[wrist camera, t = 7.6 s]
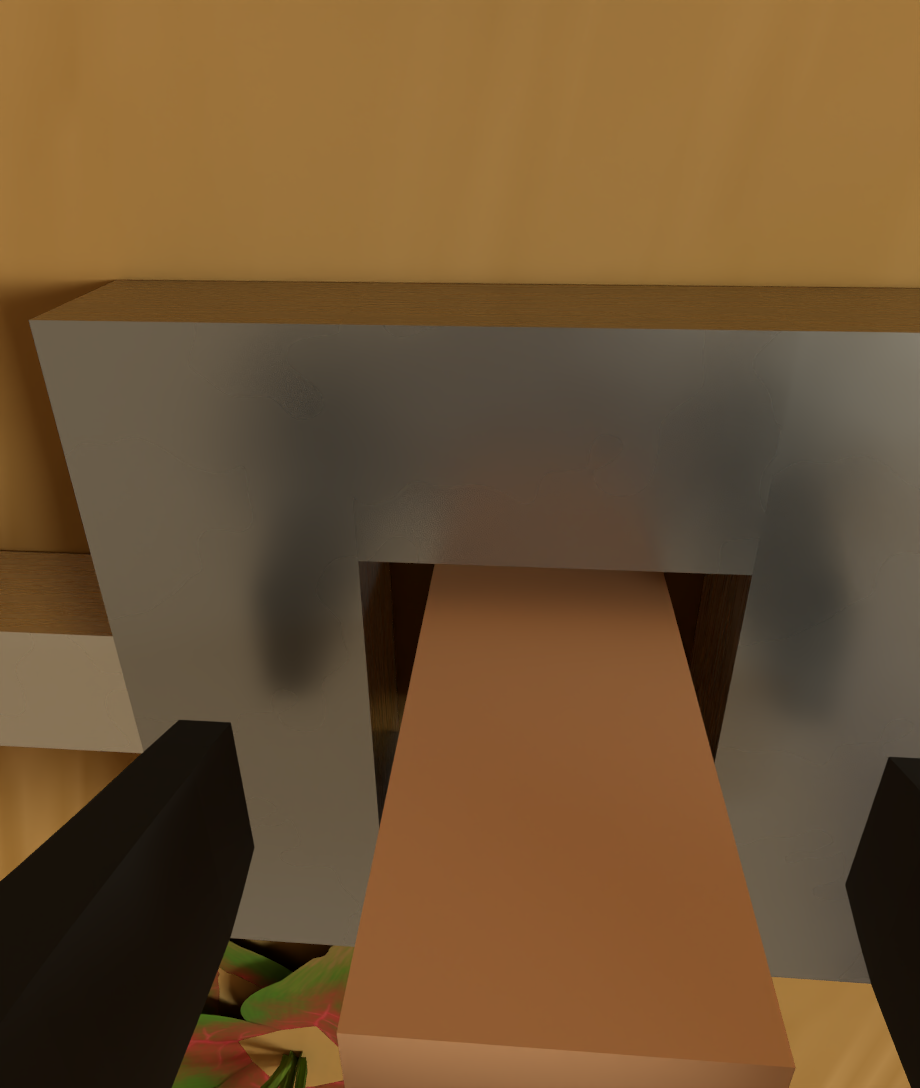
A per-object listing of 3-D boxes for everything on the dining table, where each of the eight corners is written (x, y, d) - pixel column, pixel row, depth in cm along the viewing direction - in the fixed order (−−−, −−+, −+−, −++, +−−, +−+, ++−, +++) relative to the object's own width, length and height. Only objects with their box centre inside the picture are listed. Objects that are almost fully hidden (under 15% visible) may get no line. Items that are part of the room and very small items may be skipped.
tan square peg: (635, 706, 13) (725, 1268, 7) (445, 697, 13) (367, 1236, 7) (654, 539, 11) (795, 1066, 5) (441, 534, 12) (336, 1033, 5)
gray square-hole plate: (1042, 289, 9) (1159, 335, 8) (844, 874, 14) (887, 984, 12) (-258, 276, 10) (-418, 313, 9) (-25, 821, 15) (-97, 914, 14)
